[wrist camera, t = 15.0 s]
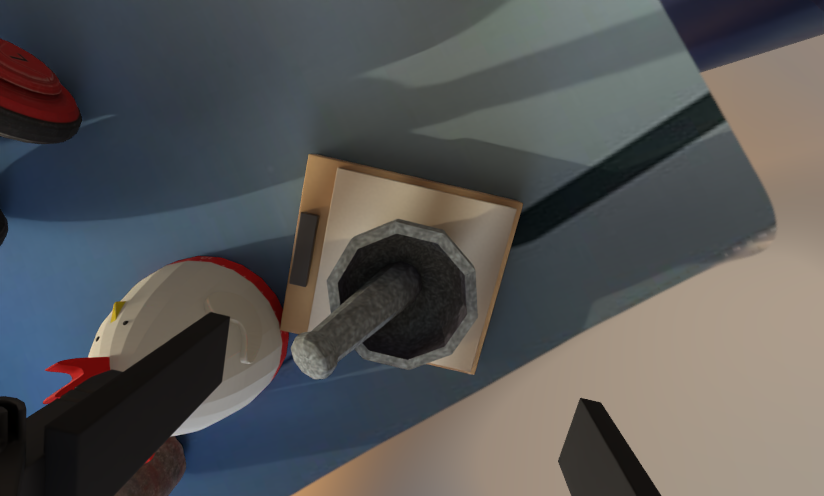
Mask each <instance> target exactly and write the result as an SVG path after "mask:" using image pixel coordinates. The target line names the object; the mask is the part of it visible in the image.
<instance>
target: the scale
mask: <svg viewBox="0 0 824 496" xmlns="http://www.w3.org/2000/svg"><path fill="white" fill-rule="evenodd" d="M522 206H523V203H521V202H520V201H518V200H513V199H509V198H505V197H500V196H496V195H492V194H487V193H483V192H479V191H474V190H470V189H466V188H461V187H457V186H453V185H448V184H444V183H440V182H435V181H431V180H427V179H422V178H418V177H414V176H410V175H405V174H401V173H397V172H392V171H388V170H384V169H379V168H375V167H371V166H366V165H362V164H358V163H353V162H349V161H345V160H340V159H336V158H332V157H327V156H323V155H319V154H309V155H308V161H307V168H306V174H305V180H304V186H303V192H302V198H301V204H300V210H299V216H298V222H297V228H296V234H295V240H294V246H293V252H292V258H291V265H290V271H289V277H288V283H287V289H286V295H285V301H284V307H283V313H282V319H281V325H280V330H282V331H287V332H291V333H295V334H300V333H303V332H310V331H312V330H313V329H314V328H315V327H316V326H317V325H319V324H320V323H321V322H322V321H323V320H324V319H325V318H327V317H328V316H329V315H330V314H331V311H330V303H329V296H328V288H327V279H328V277H329V275H330V274H331V272H332V270H333V269H334V267H335V265H336V263H337V262H338V260H339V258H340V257H341V255H342V253H343V252H344V250H345V248H346V246H347V245H348V243H349V241H350V240H351V239H352V238H353V237H354V236H356V235H358V234H361V233H363V232H366V231H368V230H371V229H373V228H376V227H378V226H381V225H383V224H385V223H388V222H390V221H393V220H395V219H402V220H406V221H410V222H414V223H418V224H422V225H426V226H430V227H434V228H439V229H442V230H444V231H445V232H446V233H447V235H448V236H449V237H450V238H451V239H452V241H453V242H454V243H455V244H456V245H457V246H458V248H459V249H460V250H461V251H462V252H463V254H464V255H465V256H466V257H467V258H468V259H469V261H470V262H471V263H472V264H473V265H474V268H475V271H476V288H477V308H478V318H477V319H476V321H475V322H474V324H473V325H472V327H471V328H470V329H469V331H468V332H467V334H466V335H465V337H464V338H463V339H462V341H461V342H460V344H459V345H458V347H457V348H456V349H455V351H454V352H453V354H452V355H449V356H446V357H444V358H441V359H438V360H435V361H432V362H430V363H427V364H429V365H433V366H438V367H442V368H446V369H450V370H455V371H459V372H463V373H468V374H472V375H474V374H475V371H476V367H477V364H478V360H479V357H480V353H481V350H482V346H483V343H484V339H485V336H486V332H487V329H488V325H489V322H490V318H491V315H492V311H493V308H494V304H495V301H496V297H497V294H498V290H499V287H500V283H501V280H502V276H503V273H504V269H505V266H506V262H507V259H508V255H509V252H510V248H511V245H512V241H513V238H514V234H515V231H516V227H517V224H518V220H519V217H520V213H521V210H522Z"/></svg>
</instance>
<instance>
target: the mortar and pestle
mask: <svg viewBox="0 0 824 496" xmlns="http://www.w3.org/2000/svg"><path fill="white" fill-rule="evenodd" d="M327 288H328V296H329V303H330V311H331V314H330V315H329V316H328V317H327V318H325V319H324V320H323V321H322V322H321V323H320V324H319V325H317V326H316V327H315V328H314V329H313V330H312V331H310V332H303V333H300V334H299V335H298V336H297V337H295V339H294V342H293V344H292V347H291V351H292V355H293V358H294V361H295V363H296V364H297V366H298V367H299V368H300V370H301V371H302V372H303V373H305V374H306V375H308V376H310V377H311V378H313V379H325V378H327V377H328V376H329V375H330V374H332V372H333V371H334V369H335V367H336V366H337V362H338V361H340V360H341V359H342V358H343V357H345V356H346V355H347V354H348V353H350V352H351V351H352V350H354V349H355V350H356V351H357V352H358V354H359V355H360V356H361V357H362V358H363V359H366V360H370V361H374V362H378V363H382V364H386V365H390V366H394V367H398V368H403V369H407V370H410V369H413V368H416V367H418V366H421V365H424V364H427V363H430V362H432V361H435V360H438V359H441V358H444V357H446V356H449V355H452V354H453V352H454V351H455V349H456V348H457V347H458V345H459V344H460V342H461V341H462V339H463V338H464V337H465V335H466V334H467V332H468V331H469V329H470V328H471V327H472V325H473V324H474V322H475V321H476V319H477V318H478V308H477V288H476V271H475V268H474V265H473V264H472V263H471V262H470V261H469V259H468V258H467V257H466V256H465V255H464V254H463V252H462V251H461V250H460V249H459V248H458V246H457V245H456V244H455V243H454V242H453V241H452V239H451V238H450V237H449V236H448V235H447V233H446V232H445V231H444V230H442V229H439V228H434V227H430V226H426V225H422V224H418V223H414V222H410V221H406V220H402V219H395V220H393V221H390V222H388V223H385V224H383V225H381V226H378V227H376V228H373V229H371V230H368V231H366V232H363V233H361V234H358V235H356V236H354V237H353V238H352V239H351V240H350V241H349V243H348V245H347V246H346V248H345V250H344V252H343V253H342V255H341V257H340V258H339V260H338V262H337V263H336V265H335V267H334V269H333V270H332V272H331V274H330V275H329V277H328V279H327Z"/></svg>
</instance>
